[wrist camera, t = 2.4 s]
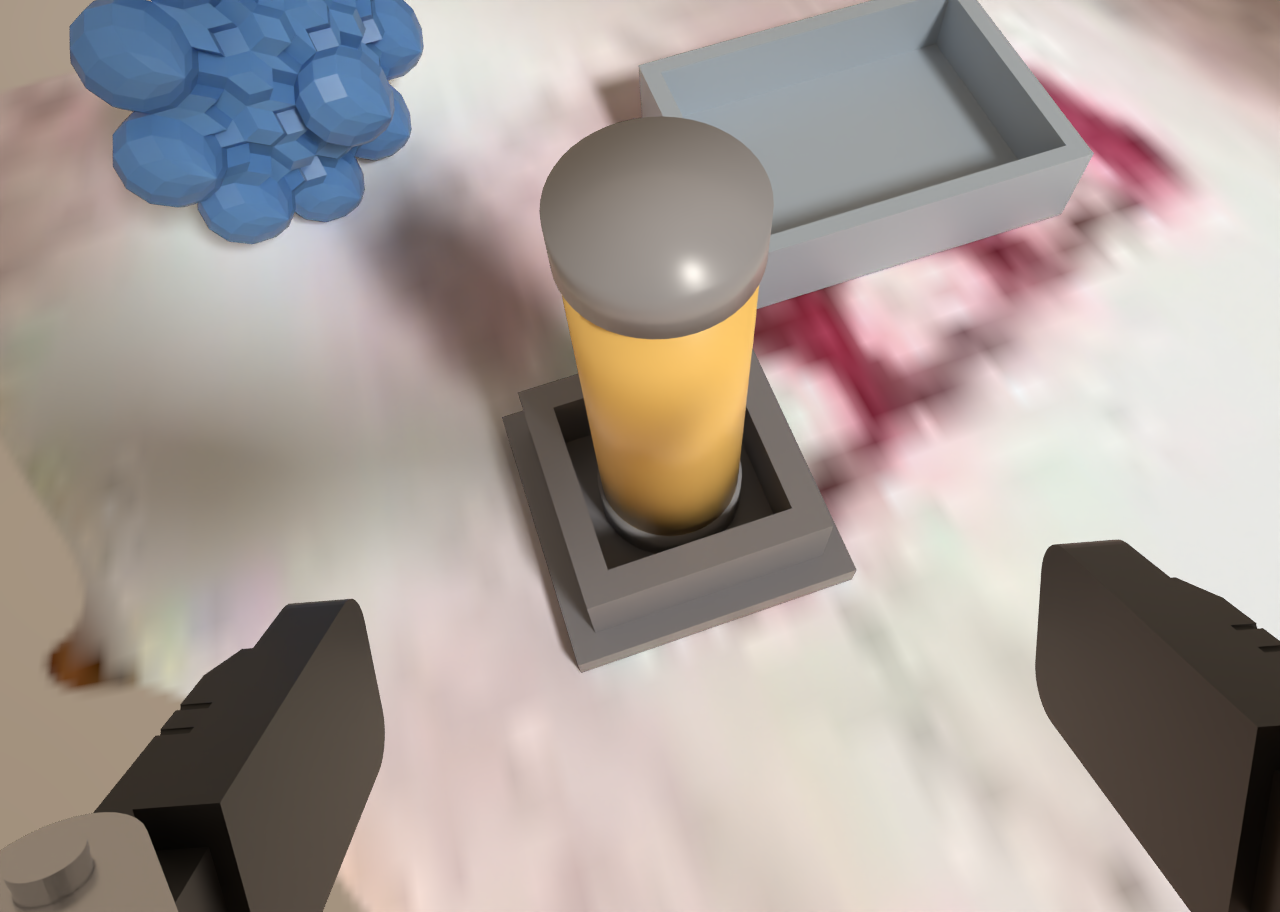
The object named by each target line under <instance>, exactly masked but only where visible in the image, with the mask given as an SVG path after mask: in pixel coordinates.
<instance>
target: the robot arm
mask: <svg viewBox="0 0 1280 912" xmlns="http://www.w3.org/2000/svg"><path fill="white" fill-rule="evenodd" d="M1035 670H1036V681H1037V687H1038V691H1039V695H1040V699H1041V702H1042V705H1043V707H1044V710H1045V712H1046V714H1047V716H1048V718H1049V719H1050V721H1051V722H1052V724H1053V725H1054V726H1055V728H1056V729H1057V730H1058V732H1059V733H1060V734H1061V736H1062V737H1063V738H1064V740H1065V741H1066V743H1067V744H1068V745H1069V747H1070V748H1071V749H1072V751H1073V752H1074V753H1075V755H1076V756H1077V758H1078V759H1079V760H1080V762H1081V763H1082V764H1083V766H1084V767H1085V768H1086V770H1087V771H1088V772H1089V774H1090V775H1091V777H1092V778H1093V779H1094V781H1095V782H1096V783H1097V785H1098V786H1099V787H1100V789H1101V790H1102V792H1103V793H1104V794H1105V796H1106V797H1107V798H1108V800H1109V801H1110V802H1111V804H1112V805H1113V807H1114V808H1115V809H1116V811H1117V812H1118V813H1119V815H1120V816H1121V817H1122V819H1123V820H1124V821H1125V823H1126V824H1127V826H1128V827H1129V828H1130V830H1131V831H1132V832H1133V834H1134V835H1135V836H1136V838H1137V839H1138V841H1139V842H1140V843H1141V845H1142V846H1143V847H1144V849H1145V850H1146V851H1147V853H1148V854H1149V855H1150V857H1151V858H1152V860H1153V861H1154V862H1155V864H1156V865H1157V866H1158V868H1159V869H1160V870H1161V872H1162V873H1163V875H1164V876H1165V877H1166V879H1167V880H1168V881H1169V883H1170V884H1171V885H1172V887H1173V888H1174V889H1175V891H1176V892H1177V894H1178V895H1179V896H1180V898H1181V899H1182V900H1183V902H1184V903H1185V904H1186V906H1187V907H1188V909H1189V910H1190V911H1191V912H1280V641H1279V640H1278V639H1276V638H1275V637H1274V636H1272V635H1271V634H1270V633H1268V632H1267V631H1266V630H1264V629H1263V628H1261V629H1257V627H1256V623H1255V622H1254V621H1253V620H1251V619H1250V618H1249V617H1247V616H1246V615H1245V614H1243V613H1242V612H1241V611H1239V610H1238V609H1237V608H1235V607H1234V606H1233V605H1232V604H1230V603H1229V602H1228V601H1226V600H1225V599H1224V598H1222V597H1220V596H1217V595H1215V594H1213V593H1210V592H1208V591H1206V590H1203V589H1201V588H1199V587H1196V586H1194V585H1192V584H1189V583H1187V582H1185V581H1182V580H1180V579H1178V578H1170V577H1169V576H1168V575H1166V574H1165V573H1164V572H1163V571H1161V570H1160V569H1159V568H1158V567H1156V566H1155V565H1154V564H1152V563H1151V562H1150V561H1149V560H1147V559H1146V558H1145V557H1144V556H1142V555H1141V554H1140V553H1139V552H1137V551H1136V550H1135V549H1134V548H1132V547H1131V546H1130V545H1129V544H1127V543H1126V542H1124V541H1122V540H1106V541H1094V542H1081V543H1068V544H1056V545H1052V546H1050V547H1049V548H1048V549H1047V551H1046V552H1045V555H1044V558H1043V562H1042V570H1041V585H1040V601H1039V616H1038V631H1037V646H1036V662H1035ZM384 740H385V728H384V716H383V710H382V705H381V700H380V695H379V690H378V685H377V680H376V675H375V670H374V665H373V660H372V655H371V650H370V646H369V641H368V636H367V631H366V626H365V621H364V617H363V613H362V610H361V608H360V606H359V604H358V603H357V602H356V601H355V600H354V599H344V600H331V601H318V602H306V603H293V604H288V605H286V606H285V607H284V608H283V609H282V611H281V612H280V613H279V615H278V616H277V617H276V619H275V620H274V621H273V622H272V624H271V625H270V626H269V628H268V629H267V630H266V632H265V633H264V634H263V636H262V637H261V638H260V640H259V641H258V642H257V644H256V645H255V646H254V648H250V649H242V650H240V651H239V652H237V653H236V654H234V655H233V656H231V657H230V658H228V659H227V660H226V661H224V662H223V663H221V664H220V665H218V666H217V667H215V668H214V669H213V670H211V671H210V672H208V673H207V674H205V675H204V676H203V677H202V679H201V680H200V681H199V682H198V684H197V685H196V686H195V687H194V688H193V690H192V691H191V692H190V693H189V695H188V696H187V697H186V698H185V700H184V701H183V702H182V703H181V709H180V710H177V711H175V712H174V713H173V715H172V716H171V717H170V718H169V720H168V721H167V722H166V723H165V725H164V726H163V727H162V728H161V734H160V736H155V737H154V738H153V739H152V741H151V742H150V743H149V744H148V746H147V747H146V748H145V750H144V751H143V752H142V753H141V754H140V756H139V757H138V758H137V759H136V761H135V762H134V763H133V764H132V766H131V767H130V768H129V769H128V770H127V772H126V773H125V774H124V776H123V777H122V778H121V779H120V781H119V782H118V783H117V784H116V785H115V787H114V788H113V789H112V790H111V792H110V793H109V794H108V795H107V797H106V798H105V799H104V800H103V802H102V803H101V804H100V805H99V807H98V808H97V809H96V810H95V811H94V813H91V814H85V815H80V816H76V817H72V818H68V819H65V820H61V821H58V822H55V823H53V824H50V825H47V826H45V827H42V828H40V829H38V830H36V831H34V832H31V833H29V834H27V835H25V836H23V837H21V838H20V839H18V840H16V841H14V842H12V843H11V844H9V845H7V846H6V847H4V848H3V849H1V850H0V912H323V909H324V907H325V904H326V902H327V899H328V897H329V894H330V892H331V889H332V887H333V884H334V882H335V879H336V877H337V874H338V872H339V869H340V867H341V864H342V862H343V859H344V857H345V854H346V852H347V849H348V847H349V845H350V842H351V840H352V837H353V835H354V832H355V830H356V827H357V825H358V822H359V820H360V817H361V815H362V812H363V810H364V807H365V805H366V802H367V800H368V797H369V795H370V792H371V790H372V787H373V785H374V782H375V780H376V777H377V775H378V772H379V769H380V767H381V763H382V758H383V752H384Z"/></svg>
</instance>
